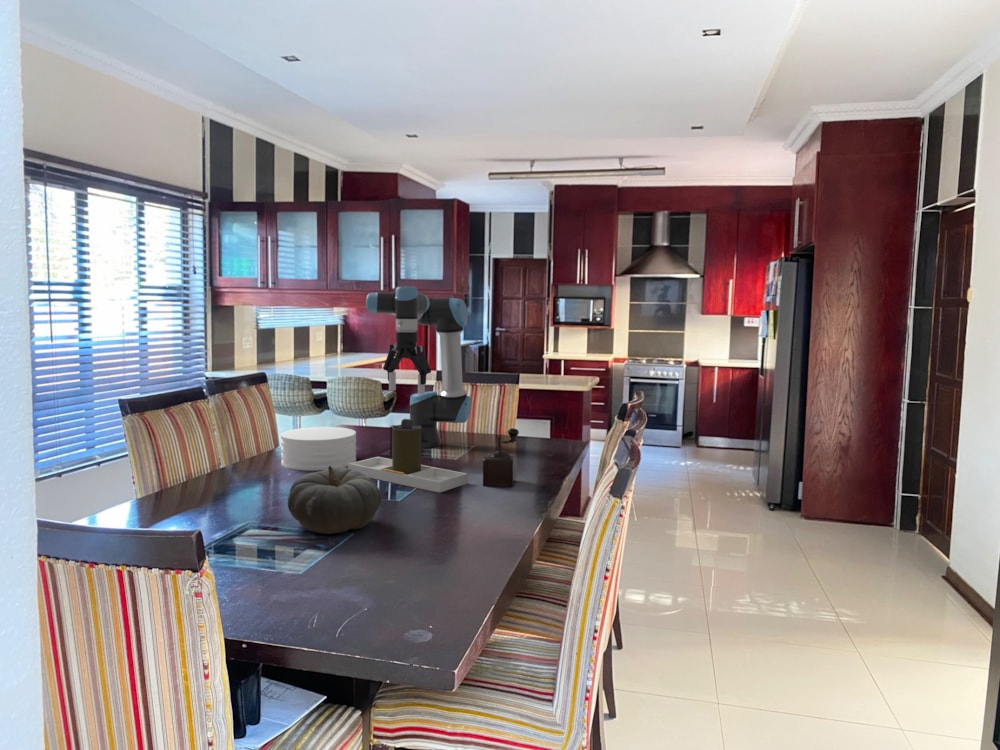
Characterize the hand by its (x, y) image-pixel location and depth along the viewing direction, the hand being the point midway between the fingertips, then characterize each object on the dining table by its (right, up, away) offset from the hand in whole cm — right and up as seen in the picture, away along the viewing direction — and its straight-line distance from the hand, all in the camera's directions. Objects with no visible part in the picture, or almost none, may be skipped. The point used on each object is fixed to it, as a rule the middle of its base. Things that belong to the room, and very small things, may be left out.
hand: (406, 392), depth 243 cm
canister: (-1, -30, +3) cm, 30 cm away
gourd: (-12, -36, -51) cm, 63 cm away
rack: (0, -31, +3) cm, 31 cm away
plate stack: (-37, -28, +26) cm, 54 cm away
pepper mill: (+33, -32, 0) cm, 46 cm away
